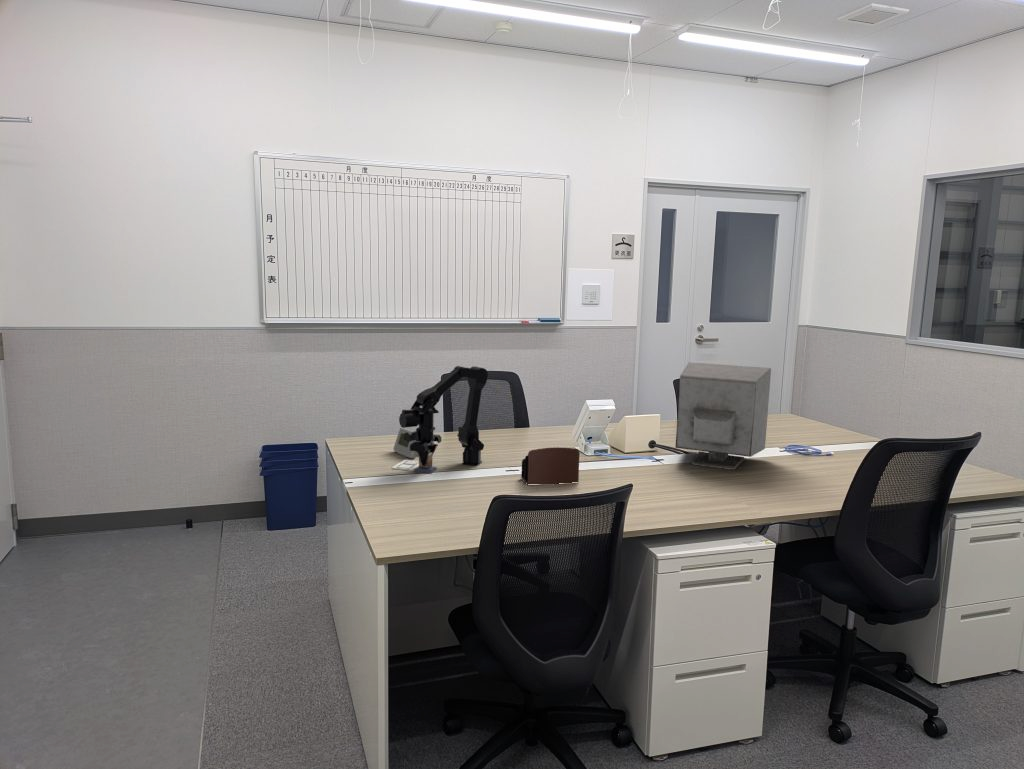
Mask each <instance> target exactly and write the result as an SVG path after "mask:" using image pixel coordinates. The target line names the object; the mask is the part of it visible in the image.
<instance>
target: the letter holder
mask: <svg viewBox="0 0 1024 769" xmlns="http://www.w3.org/2000/svg"><path fill="white" fill-rule="evenodd" d="M579 467H580V450H579V449H578V448H572V447H554V446H553V447H543V448H537V449H531V450H529V451H528V453H527V455H526V456H525V457H524V458H523V459H522V460H521V472H520V473H521V476H520V478H521V480H522V479H523V480H524V481H525V482H526V483H527V484H554V485H560V484H559V483H572V482H578V483H579V480H580V479H579V478H580V477H579V476H580V468H579ZM523 480H522V481H523ZM524 481H523V482H524ZM525 482H524V483H525ZM526 483H525V484H526ZM527 484H526V485H527Z"/></svg>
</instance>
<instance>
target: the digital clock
mask: <svg viewBox="0 0 1024 769" xmlns="http://www.w3.org/2000/svg"><path fill="white" fill-rule="evenodd" d="M414 431H415V430H412V429H410V428H407V427H406V428H402V427H399V430H398V433H397V436H396V439H395V442H394V445H393V451H394V452H395V453H397V454H398V455H401V456H403V457H405V458H408V459H411V460H413V459H415V458H416V457H419V454H418V452H416V451H410V445H411V444H412V443H414V442H417V441H416V440H414V441H410V442H409V443H406V441H405V440H404V439H403V438H404V433H406V432H410V433H411V432H414ZM419 442H420V441H419Z"/></svg>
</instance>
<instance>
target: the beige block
mask: <svg viewBox="0 0 1024 769" xmlns="http://www.w3.org/2000/svg"><path fill="white" fill-rule="evenodd" d="M418 461H419V468H428V469H429V468H430V467H432V466H433V456H432V452H430V453H429V456H428V459H427V462H426V465H425V466H422V463H421V460H420V456H418Z"/></svg>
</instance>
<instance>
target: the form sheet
mask: <svg viewBox="0 0 1024 769" xmlns="http://www.w3.org/2000/svg"><path fill="white" fill-rule="evenodd" d="M417 467H419V460H413V459H403V460H402V461H400V462H399V463H396V464H395V465H393V466H392V467H391V469H392V470H397V471H398V470H401V471H409V472H413V471H414V469H416V468H417Z"/></svg>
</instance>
